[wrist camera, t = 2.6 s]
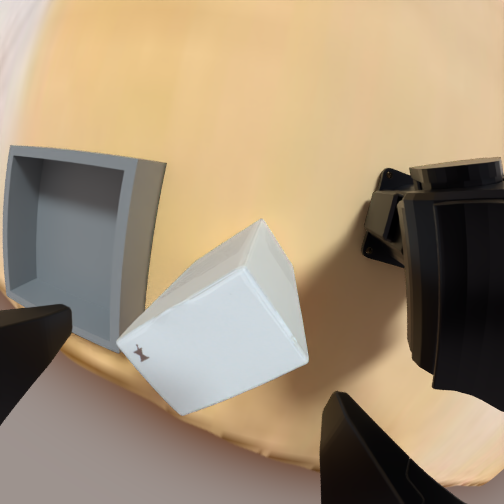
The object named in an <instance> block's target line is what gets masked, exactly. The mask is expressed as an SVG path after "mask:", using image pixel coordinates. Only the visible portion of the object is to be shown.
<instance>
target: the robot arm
mask: <svg viewBox="0 0 504 504" xmlns="http://www.w3.org/2000/svg"><path fill="white" fill-rule="evenodd" d="M409 170H410V175H411V176H410V175H407V174H405V173H402V172H399V171H397V170H394V169H391V168H386V169H384V170H383V171H382V173H381V177H380V181H379V186H378V190H377V191H375V192H373V195H372V198H371V202H370V206H369V210H368V214H367V217H366V221H365V224H364V227H365V229H366V230H367V231H366V234H365V238H364V241H363V244H362V248H361V252H362V254H363V255H364V256H365V257H367V258H370V259H374V260H377V261H381V262H385V263H388V264H392V265H395V266H399V267H402V268H405V278H406V296H407V340H408V343H409V347H410V350H411V352H412V360H413V361H414V362H415V363H416V364H417V365H418V366H419V367H420V368H422V369H424V370H425V371H427V372H429V373H431V374H433V382H432V388H434V389H439V390H452V391H458V392H461V393H465V394H469V395H472V396H474V397H476V398H479V399H481V400H483V401H484V402H486V403H488V404H490V405H491V406H493V407H495V408H497V409H498V410H500V411H502V412H504V174H503V168H502V162H501V157H493V158H479V159H469V160H461V161H453V162H445V163H438V164H431V165H424V166H417V167H411V168H409ZM387 172H389V173H390V174H391V177H390V178H387V176H386V174H387ZM368 247H370V248H371V251H370V252H369V253H366V249H367V248H368ZM72 328H73V326H72V310H71V308H70V307H68V306H66V305H64V304H53V305H45V306H37V307H28V308H19V309H10V310H1V311H0V425H1V424H2V423H3V421H4V420H5V419H6V417H7V416H8V415H9V413H10V412H11V411H12V409H13V408H14V407H15V405H16V404H17V403H18V402H19V401H20V399H21V398H22V397H23V396H24V394H25V393H26V392H27V391H28V389H29V388H30V387H31V386H32V384H33V383H34V382H35V381H36V380H37V378H38V377H39V376H40V375H41V373H42V372H43V371H44V370H45V369H46V368H47V366H48V365H49V364H50V363H51V362H52V360H53V359H54V357H55V356H56V354H57V353H58V352H59V350H60V349H61V347H62V346H63V344H64V343H65V342H66V340H67V339H68V337H69V336H70V335H71V333H72ZM409 458H410V457H409V456H408V455H407V454H406V453H405V452H404V451H403V450H402V449H401V448H400V447H399V446H398V445H397V444H396V443H395V442H394V441H393V440H392V439H391V438H390V437H389V436H388V435H387V434H386V433H385V432H384V431H383V430H382V429H381V428H380V427H379V426H378V425H377V424H376V423H375V422H374V421H373V420H372V418H371V417H370V416H369V415H368V414H367V413H366V412H365V411H364V410H363V409H362V408H361V407H360V406H359V405H358V404H357V403H356V402H355V401H354V400H353V399H352V398H351V397H350V396H349V395H348V394H347V393H345V392H339V391H335V392H334V393H333V394H332V395H331V397H330V399H329V401H328V403H327V404H326V406H325V408H324V410H323V413H322V427H321V441H320V477H321V504H466V503H464V502H463V501H461V500H460V499H458V498H457V497H456V496H454V495H453V494H452V493H451V492H449V491H448V490H447V489H445V488H444V487H443V486H441V485H440V484H439V483H438V482H436V481H435V480H434V479H433V478H432V477H430V476H429V475H428V474H427V473H426V472H425V471H424V470H423V469H422V468H420V467H419V466H418V465H417V464H416V463H415V462H414V461H413V460H412V459H411V458H410V459H409Z"/></svg>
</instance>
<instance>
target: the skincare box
mask: <svg viewBox="0 0 504 504" xmlns="http://www.w3.org/2000/svg"><path fill="white" fill-rule="evenodd" d="M116 345H117V346H118V347H119V349H120V350H121V351H122V352H123V353H124V355H125V356H126V357H127V358H128V359H129V361H130V362H131V363H132V364H133V365H134V367H135V368H136V369H137V370H138V371H139V372H140V374H141V375H142V376H143V377H144V378H145V379H146V380H147V382H148V383H149V384H150V385H151V386H152V387H153V388H154V389H155V390H156V391H157V393H158V394H159V395H160V396H161V397H162V398H163V399H164V400H165V401H166V402H167V403H168V404H169V405H170V406H171V407H172V408H173V409H174V410H175V411H176V412H177V413H179V414H180V415H183V416H184V415H186V414H189V413H192V412H195V411H198V410H201V409H203V408H206V407H209V406H212V405H214V404H217V403H219V402H222V401H224V400H227V399H229V398H232V397H234V396H237V395H239V394H241V393H244V392H246V391H248V390H251V389H253V388H255V387H258V386H260V385H262V384H264V383H267V382H269V381H271V380H273V379H275V378H278V377H280V376H282V375H284V374H286V373H288V372H290V371H292V370H294V369H297V368H299V367H301V366H303V365H305V364H307V363H308V361H309V356H308V350H307V343H306V338H305V332H304V326H303V320H302V314H301V309H300V303H299V297H298V292H297V286H296V281H295V275H294V270H293V265H292V264H291V262H290V261H289V259H288V258H287V256H286V254H285V253H284V251H283V249H282V248H281V246H280V245H279V243H278V241H277V240H276V238H275V237H274V235H273V233H272V232H271V230H270V229H269V227H268V225H267V224H266V222H265V221H264V220H263V219H260V220H258V221H256V222H255V223H253V224H252V225H250V226H248V227H247V228H245V229H244V230H242V231H241V232H239V233H237V234H236V235H234V236H233V237H231V238H230V239H228V240H227V241H225V242H224V243H222V244H221V245H219V246H218V247H216V248H214V249H213V250H211V251H210V252H208V253H207V254H205V255H204V256H202V257H201V258H199V259H198V260H196V261H195V262H194V263H193V264H192V265H191V266H190V267H189V268H188V269H187V270H186V271H185V272H184V273H183V274H182V275H180V276H179V277H178V278H177V280H176V281H175V282H173V283H172V284H171V286H169V287H168V288H167V289H166V290H165V291H164V292H163V293H162V294H161V295H160V296H159V297H158V298H157V299H156V300H155V301H154V302H153V303H152V304H151V305H150V306H149V307H148V308H147V309H146V310H145V311H144V312H143V313H142V314H141V315H140V316H139V317H138V318H137V319H136V320H135V321H134V322H133V323H132V324H131V325H130V326H129V327H128V328H127V329H126V330H125V332H124V333H123V334H122V335H121V336H120V337H119V338H118V339H117V341H116Z"/></svg>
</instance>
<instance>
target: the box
mask: <svg viewBox="0 0 504 504" xmlns="http://www.w3.org/2000/svg"><path fill="white" fill-rule="evenodd" d="M166 164H167V163H163V162H157V161H151V160H145V159H139V158H132V157H125V156H119V155H111V154H104V153H96V152H88V151H79V150H70V149H60V148H49V147H34V146H14V145H10V150H9V156H8V163H7V171H6V180H5V191H4V206H3V258H4V274H5V285H6V294H7V296H8V297H9V298H11V299H13V300H14V301H16V302H17V303H19V304H21V305H22V306H24V307H26V308H28V307H37V306H45V305H53V304H64V305H66V306H68V307H70V308H71V310H72V326H73V328H72V333H74V334H76V335H78V336H80V337H82V338H85V339H87V340H89V341H91V342H93V343H95V344H98V345H100V346H102V347H104V348H107V349H109V350H111V351H114V352H116V353H120V352H121V350H120V349H119V347H118V346H117V345H116V341H117V339H118V338H119V337H120V336H121V335H122V334H123V333H124V332H125V330H126V329H127V328H128V327H129V326H130V325H131V324H132V323H133V322H134V321H135V320H136V319H137V318H138V317H139V316H140V315H141V314H142V313H143V312H144V311H145V300H146V290H147V280H148V272H149V263H150V256H151V248H152V241H153V234H154V228H155V222H156V216H157V210H158V204H159V199H160V193H161V188H162V183H163V178H164V173H165V168H166Z"/></svg>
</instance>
